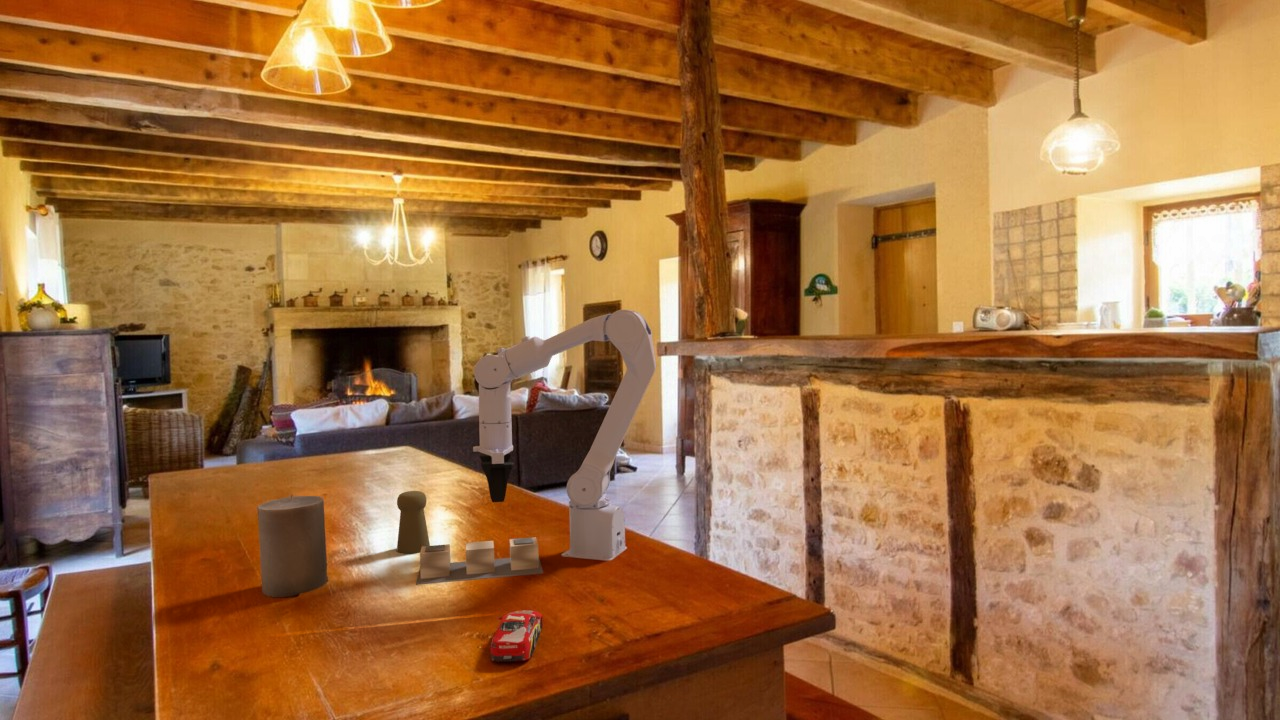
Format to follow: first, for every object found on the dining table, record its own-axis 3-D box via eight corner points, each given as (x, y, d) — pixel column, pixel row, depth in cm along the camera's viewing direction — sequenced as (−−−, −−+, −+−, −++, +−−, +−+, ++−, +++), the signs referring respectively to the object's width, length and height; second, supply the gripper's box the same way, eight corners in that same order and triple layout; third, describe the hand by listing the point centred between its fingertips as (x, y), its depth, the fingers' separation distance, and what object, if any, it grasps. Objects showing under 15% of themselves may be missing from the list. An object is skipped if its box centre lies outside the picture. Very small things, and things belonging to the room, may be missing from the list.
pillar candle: (341, 580, 124) (337, 488, 123) (296, 600, 114) (291, 501, 114) (294, 575, 127) (289, 486, 126) (246, 595, 118) (241, 499, 117)
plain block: (494, 563, 129) (493, 540, 129) (494, 572, 125) (493, 548, 124) (466, 566, 128) (466, 542, 128) (466, 574, 124) (465, 550, 124)
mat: (538, 557, 133) (538, 555, 133) (543, 575, 124) (543, 573, 124) (420, 567, 129) (420, 565, 129) (416, 586, 119) (415, 584, 119)
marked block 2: (536, 560, 131) (535, 536, 130) (538, 568, 126) (538, 543, 126) (510, 562, 130) (509, 538, 129) (511, 570, 125) (510, 545, 125)
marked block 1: (450, 567, 127) (449, 543, 127) (449, 576, 123) (448, 550, 123) (422, 570, 126) (421, 545, 126) (420, 578, 122) (419, 553, 122)
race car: (507, 625, 104) (506, 596, 104) (546, 625, 104) (545, 596, 104) (484, 668, 91) (483, 635, 91) (529, 667, 91) (528, 634, 90)
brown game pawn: (420, 556, 135) (418, 495, 135) (389, 555, 137) (387, 495, 136) (436, 547, 141) (434, 488, 141) (406, 545, 143) (404, 488, 142)
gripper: (472, 418, 142) (473, 489, 143) (473, 427, 128) (474, 507, 129) (510, 416, 144) (511, 487, 144) (515, 426, 130) (516, 504, 130)
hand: (496, 497), depth 137 cm, fingers open, 7 cm apart
